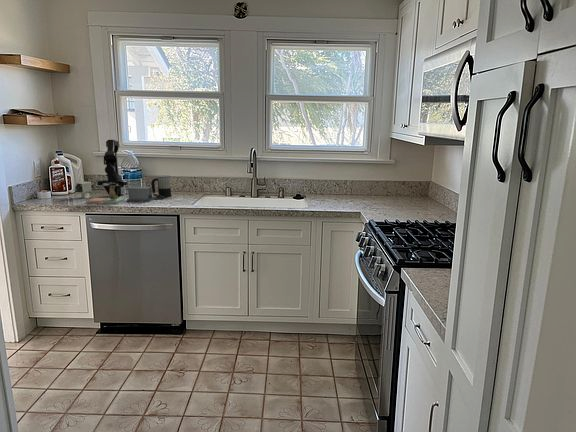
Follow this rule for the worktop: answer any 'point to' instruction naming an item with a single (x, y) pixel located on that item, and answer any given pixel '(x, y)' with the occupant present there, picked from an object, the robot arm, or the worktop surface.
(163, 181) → the coffee carafe
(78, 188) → the pneumatic valve
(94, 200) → the terracotta pad
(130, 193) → the graphite housing
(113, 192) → the bronze cartridge
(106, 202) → the sage pad
